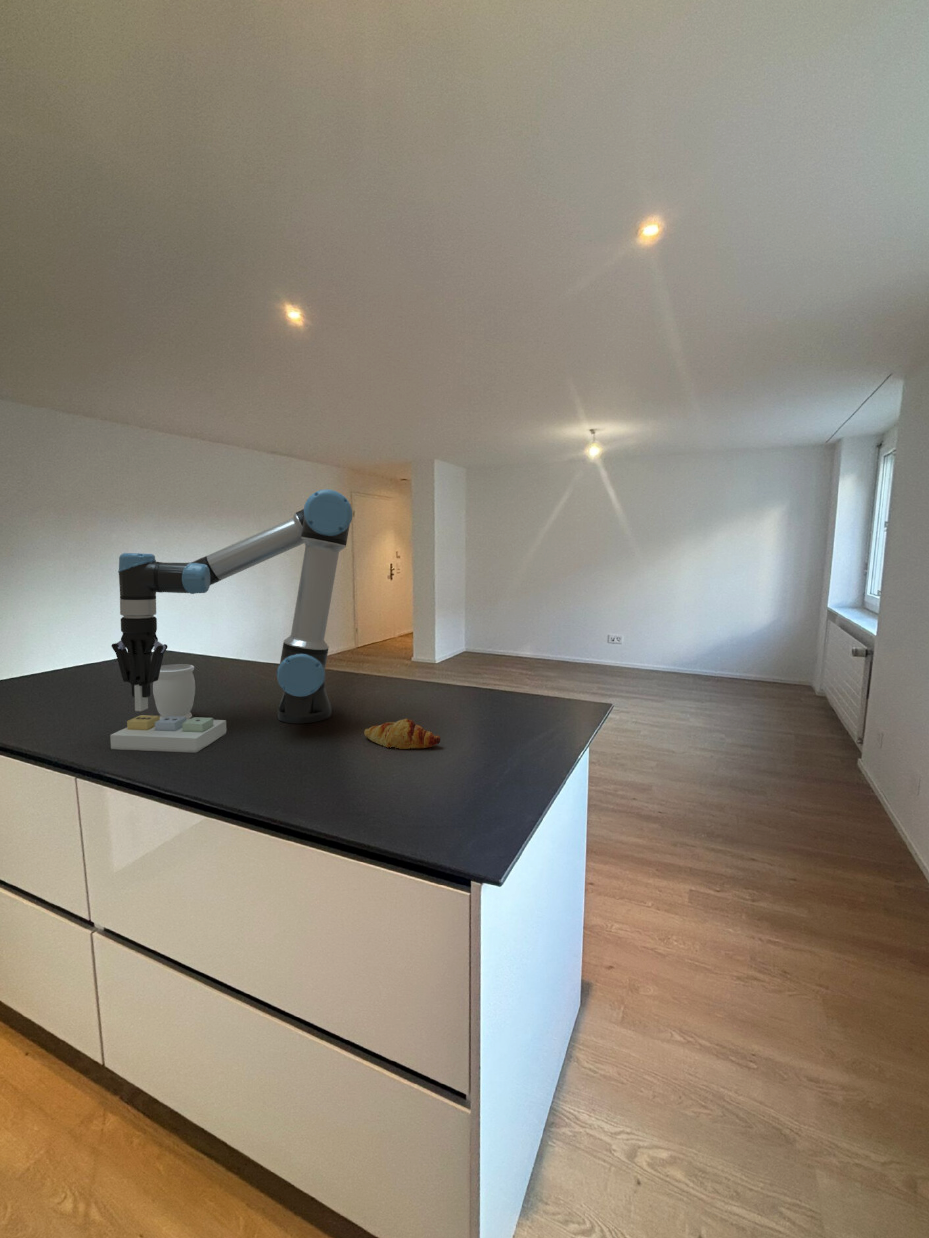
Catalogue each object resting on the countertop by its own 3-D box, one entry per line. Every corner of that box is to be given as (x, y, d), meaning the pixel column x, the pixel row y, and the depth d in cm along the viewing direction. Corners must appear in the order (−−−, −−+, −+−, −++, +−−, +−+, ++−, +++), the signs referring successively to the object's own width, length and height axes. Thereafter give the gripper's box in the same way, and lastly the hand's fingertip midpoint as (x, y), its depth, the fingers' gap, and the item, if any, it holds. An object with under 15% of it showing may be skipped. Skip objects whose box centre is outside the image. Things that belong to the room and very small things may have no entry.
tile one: (213, 729, 131) (213, 717, 131) (202, 735, 126) (202, 723, 126) (194, 728, 131) (193, 716, 131) (182, 735, 126) (182, 722, 126)
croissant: (359, 755, 132) (351, 733, 128) (374, 726, 140) (367, 705, 136) (436, 764, 126) (431, 741, 122) (448, 734, 134) (443, 712, 130)
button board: (226, 733, 136) (226, 720, 135) (196, 752, 122) (196, 738, 121) (149, 730, 137) (148, 717, 136) (111, 749, 123) (110, 734, 122)
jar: (183, 725, 141) (181, 671, 139) (145, 724, 141) (143, 670, 140) (203, 713, 152) (201, 664, 150) (168, 712, 152) (166, 663, 150)
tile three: (160, 727, 132) (159, 715, 131) (147, 733, 127) (146, 721, 126) (141, 726, 132) (140, 714, 131) (127, 732, 127) (127, 720, 126)
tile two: (186, 728, 131) (186, 716, 131) (174, 734, 126) (174, 722, 126) (167, 727, 131) (167, 715, 131) (155, 734, 127) (154, 721, 126)
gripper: (173, 615, 129) (176, 706, 132) (123, 613, 130) (126, 704, 132) (154, 618, 122) (157, 715, 125) (101, 616, 122) (105, 712, 125)
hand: (141, 709), depth 128 cm, fingers closed
